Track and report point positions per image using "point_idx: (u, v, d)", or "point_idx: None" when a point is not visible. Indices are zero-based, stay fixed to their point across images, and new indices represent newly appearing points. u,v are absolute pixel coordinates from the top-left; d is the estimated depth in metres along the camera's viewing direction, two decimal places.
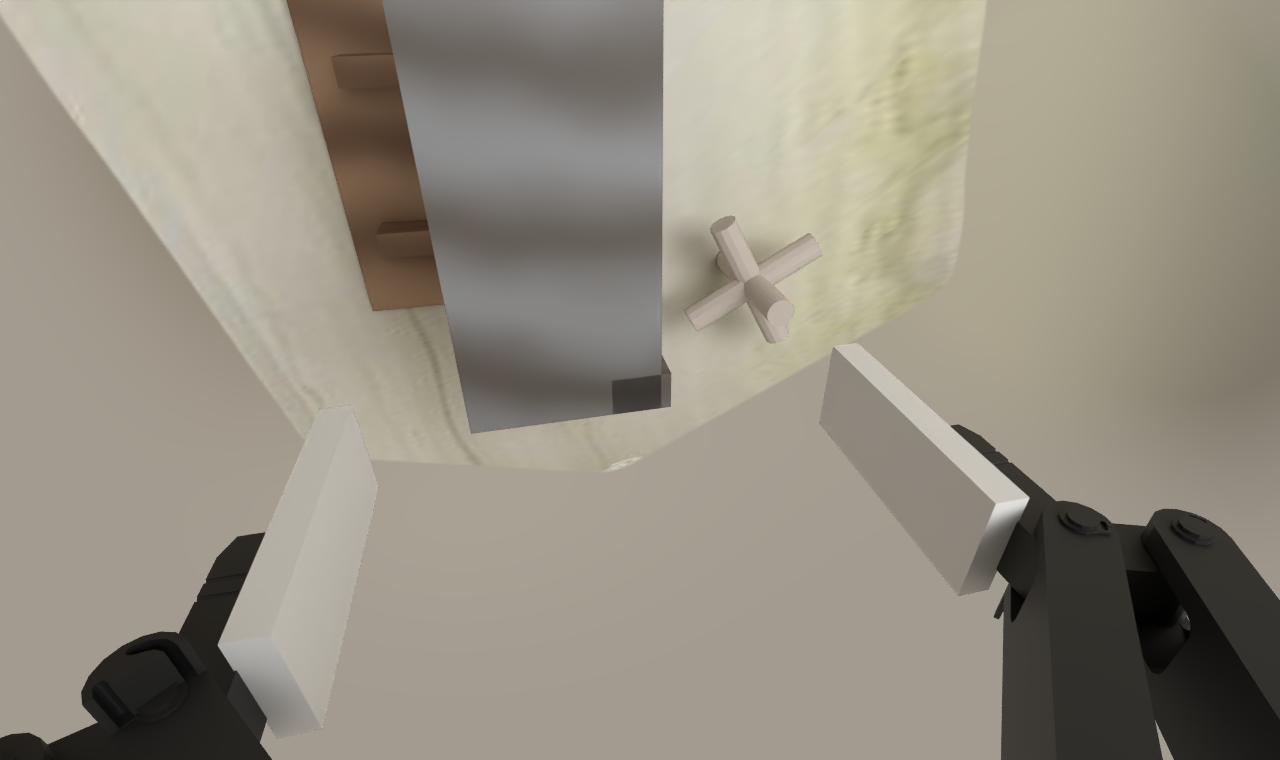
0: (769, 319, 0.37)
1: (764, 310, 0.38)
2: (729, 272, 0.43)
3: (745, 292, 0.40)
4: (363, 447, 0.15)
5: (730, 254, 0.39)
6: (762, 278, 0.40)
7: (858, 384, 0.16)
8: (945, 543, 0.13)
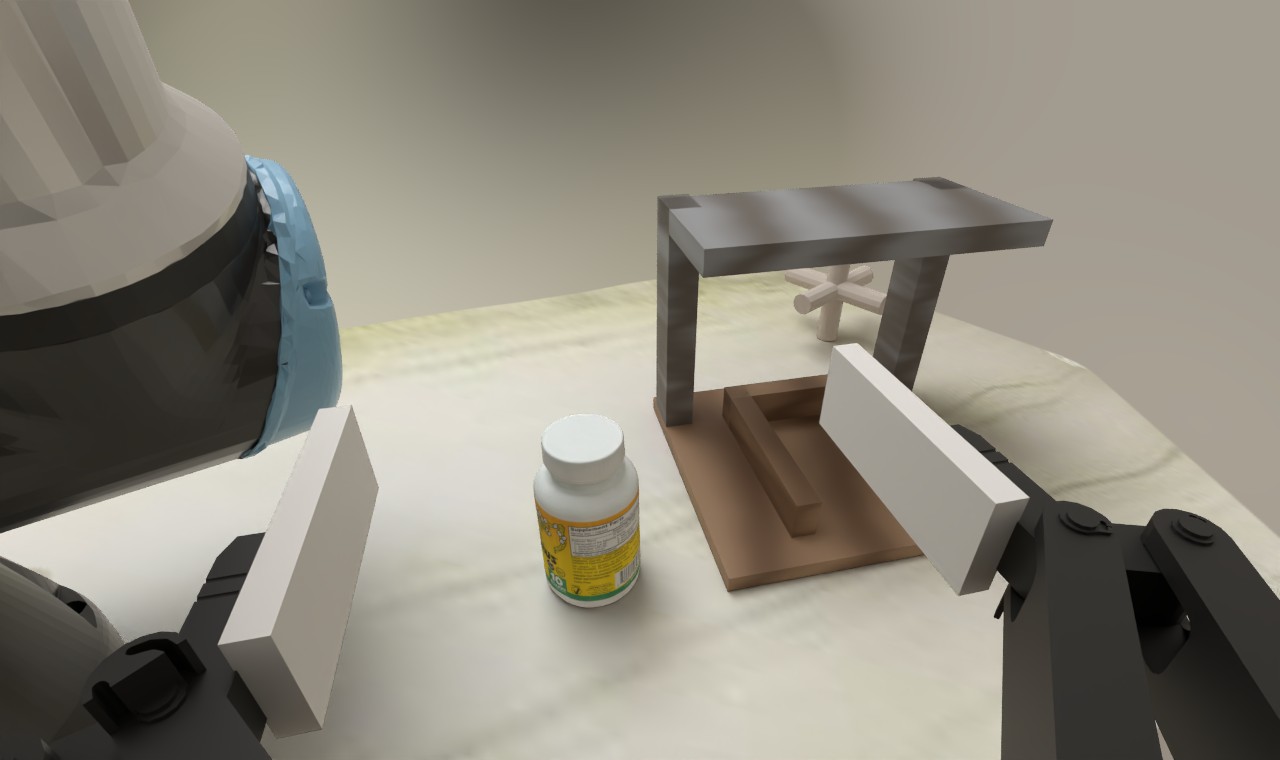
0: None
1: None
2: (835, 314, 0.55)
3: (843, 280, 0.53)
4: (363, 447, 0.15)
5: (820, 293, 0.52)
6: (827, 275, 0.54)
7: (857, 384, 0.16)
8: (945, 543, 0.13)
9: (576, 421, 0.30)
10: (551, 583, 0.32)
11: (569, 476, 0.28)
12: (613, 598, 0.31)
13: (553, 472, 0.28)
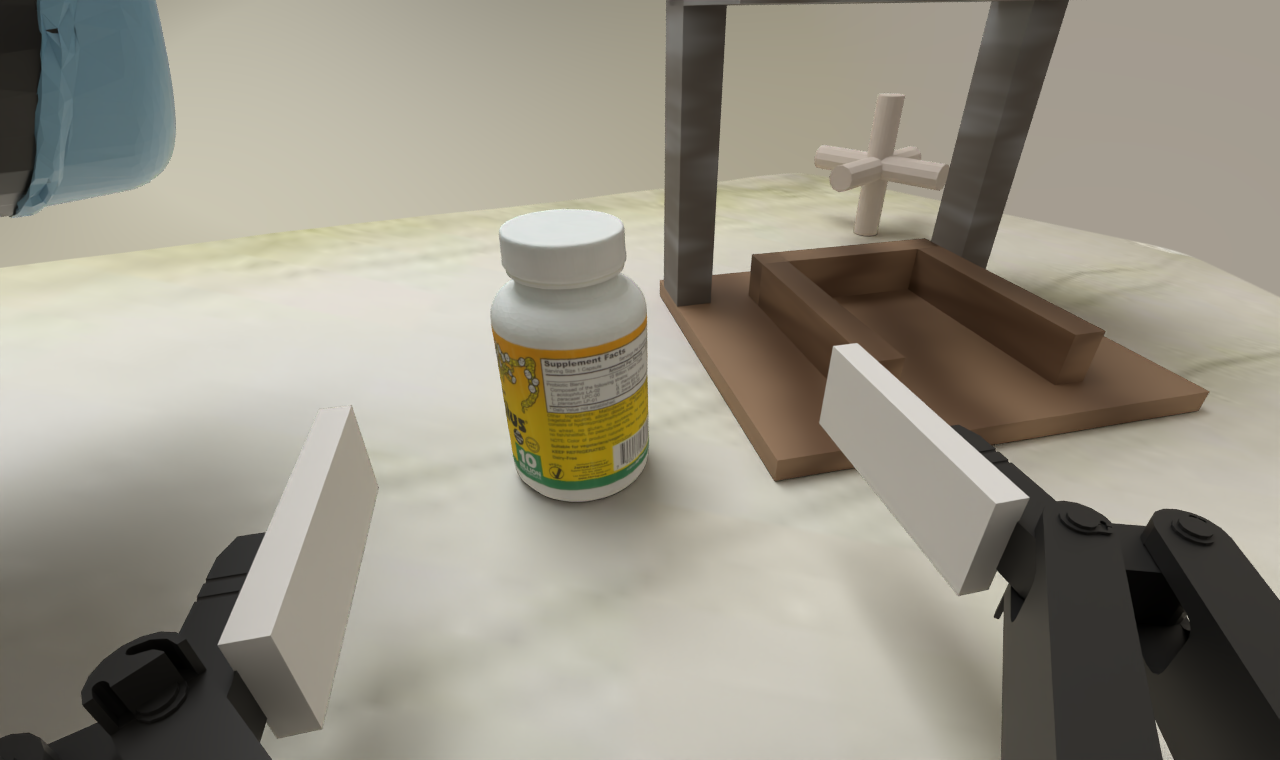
0: (901, 95, 0.42)
1: (896, 104, 0.42)
2: (877, 199, 0.45)
3: (888, 153, 0.44)
4: (363, 447, 0.15)
5: (862, 166, 0.43)
6: (869, 148, 0.44)
7: (857, 384, 0.16)
8: (945, 543, 0.13)
9: (553, 214, 0.20)
10: (521, 469, 0.22)
11: (540, 274, 0.18)
12: (611, 487, 0.22)
13: (516, 271, 0.18)
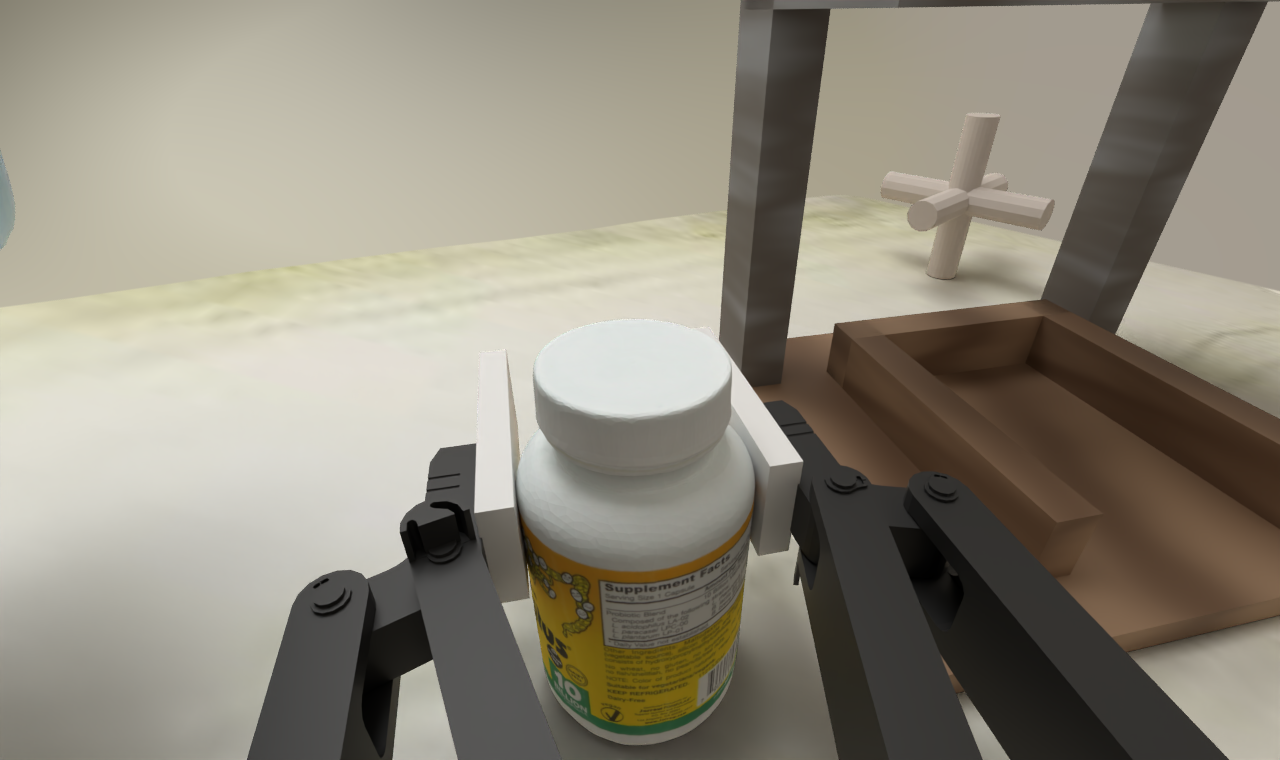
0: (997, 116, 0.35)
1: (990, 126, 0.35)
2: (960, 237, 0.38)
3: (976, 184, 0.37)
4: (511, 387, 0.17)
5: (948, 200, 0.35)
6: (952, 178, 0.37)
7: None
8: None
9: (614, 332, 0.13)
10: (555, 690, 0.15)
11: (604, 456, 0.11)
12: (690, 725, 0.15)
13: (562, 445, 0.11)
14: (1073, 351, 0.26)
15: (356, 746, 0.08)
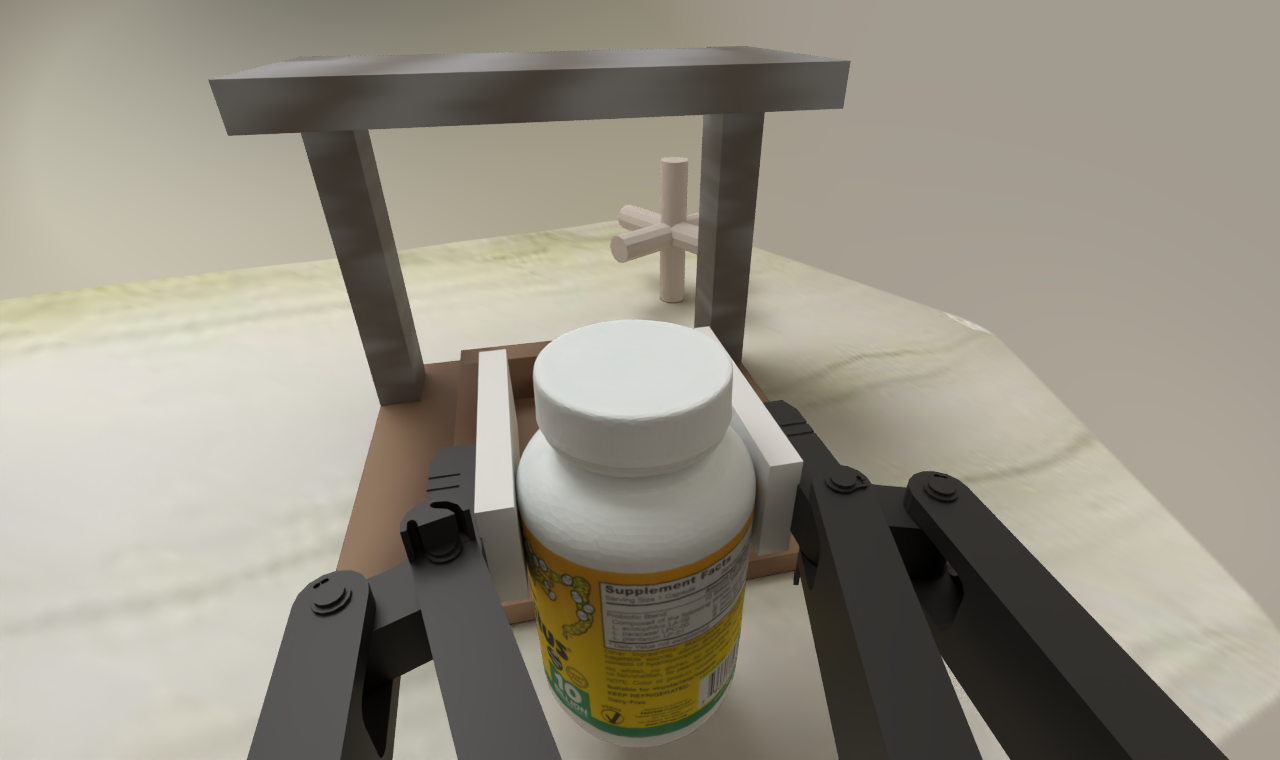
0: (682, 161, 0.39)
1: (677, 170, 0.39)
2: (675, 266, 0.43)
3: (678, 220, 0.41)
4: (511, 387, 0.17)
5: (644, 235, 0.40)
6: (660, 214, 0.42)
7: None
8: None
9: (614, 333, 0.13)
10: (556, 691, 0.15)
11: (604, 457, 0.11)
12: (691, 727, 0.14)
13: (562, 446, 0.11)
14: None
15: (356, 746, 0.08)
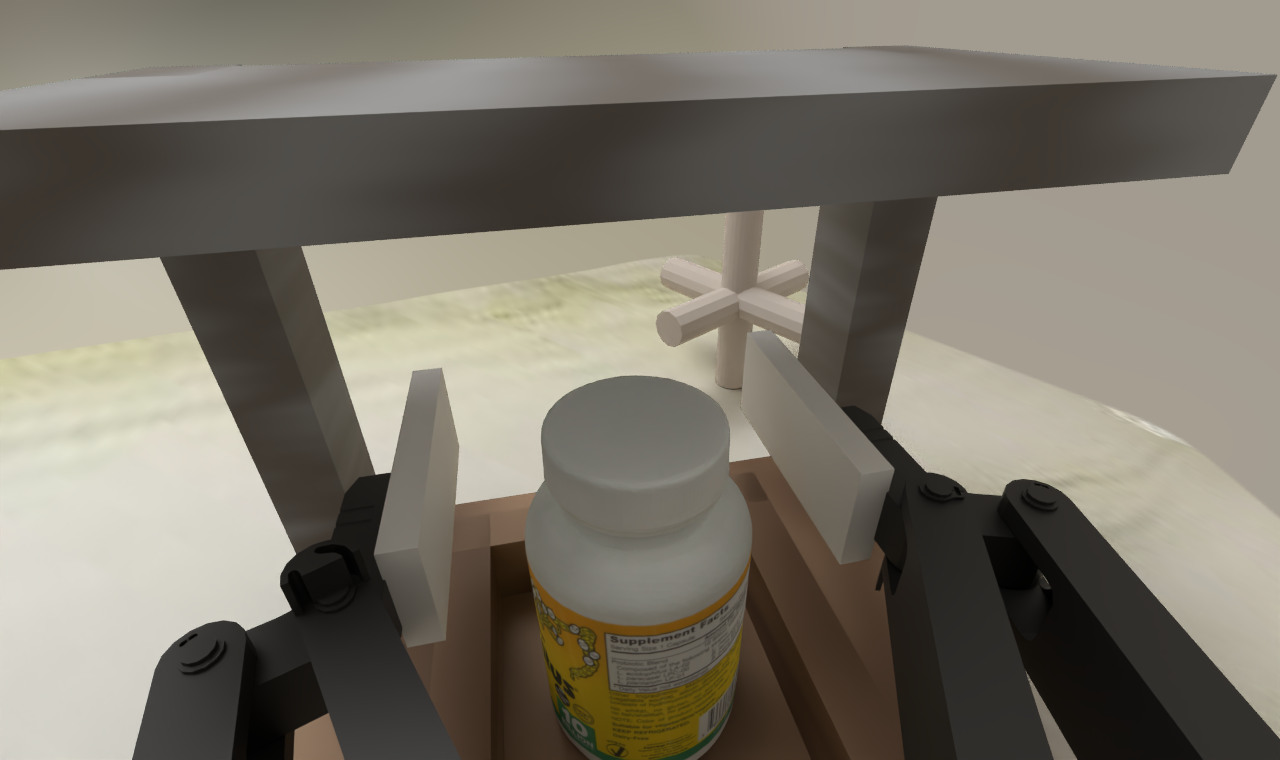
0: None
1: (750, 220, 0.28)
2: (739, 343, 0.32)
3: (747, 285, 0.30)
4: (449, 407, 0.17)
5: (703, 308, 0.29)
6: (722, 275, 0.31)
7: (765, 368, 0.17)
8: (829, 515, 0.14)
9: (617, 391, 0.14)
10: (563, 724, 0.16)
11: (609, 520, 0.11)
12: (691, 759, 0.15)
13: (569, 508, 0.12)
14: None
15: None
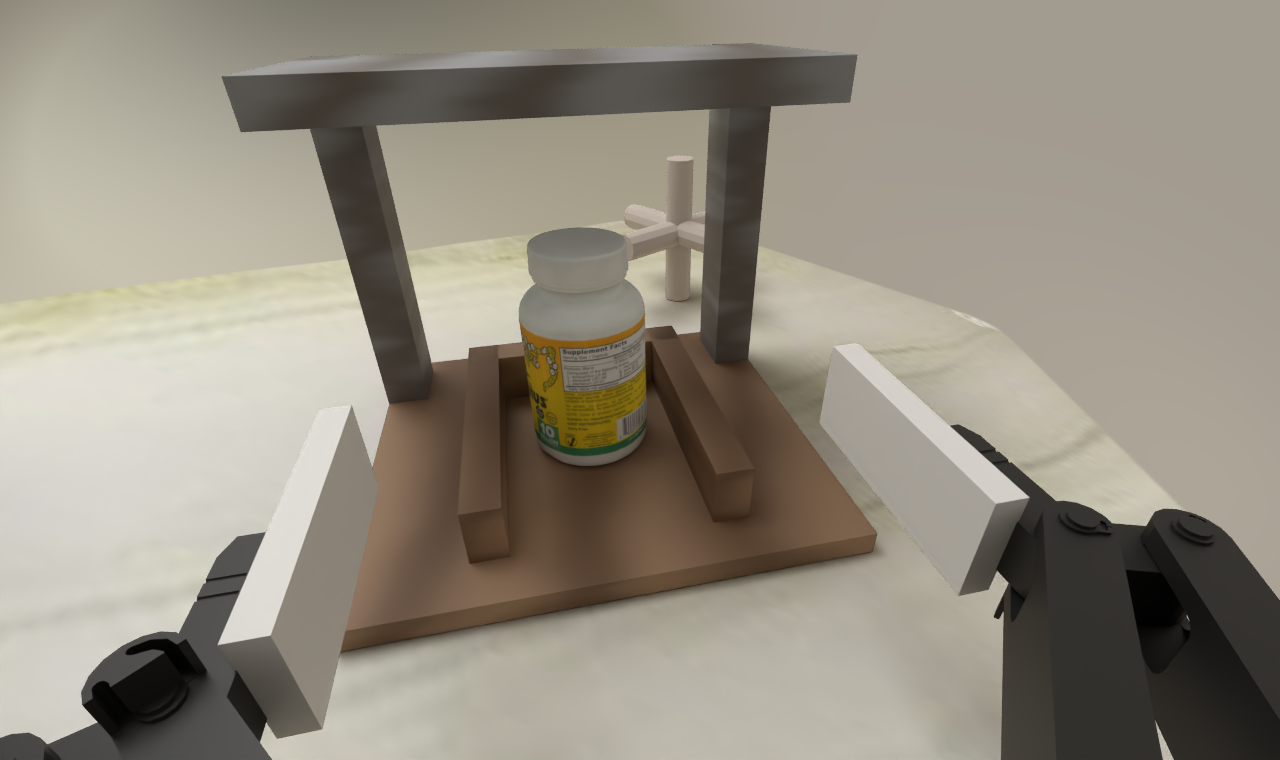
0: (687, 160, 0.39)
1: (682, 169, 0.39)
2: (680, 264, 0.43)
3: (683, 218, 0.41)
4: (363, 447, 0.15)
5: (650, 233, 0.40)
6: (666, 212, 0.42)
7: (857, 384, 0.16)
8: (945, 543, 0.13)
9: (569, 232, 0.25)
10: (541, 439, 0.27)
11: (560, 281, 0.23)
12: (615, 454, 0.26)
13: (541, 278, 0.23)
14: (660, 372, 0.30)
15: None
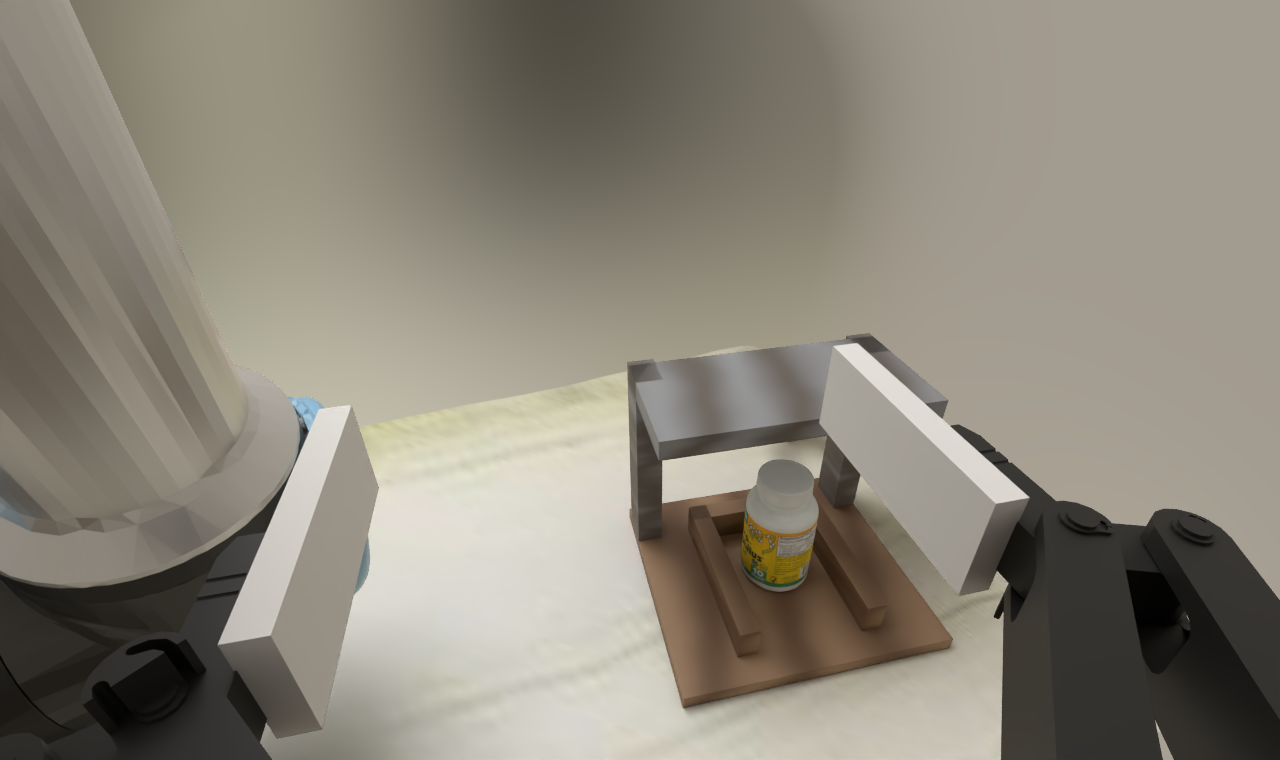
0: None
1: None
2: None
3: None
4: (363, 447, 0.15)
5: None
6: None
7: (857, 384, 0.16)
8: (945, 543, 0.13)
9: (777, 465, 0.44)
10: (751, 575, 0.46)
11: (783, 504, 0.42)
12: (796, 585, 0.46)
13: (770, 500, 0.42)
14: None
15: None
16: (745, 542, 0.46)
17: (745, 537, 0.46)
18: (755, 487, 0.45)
